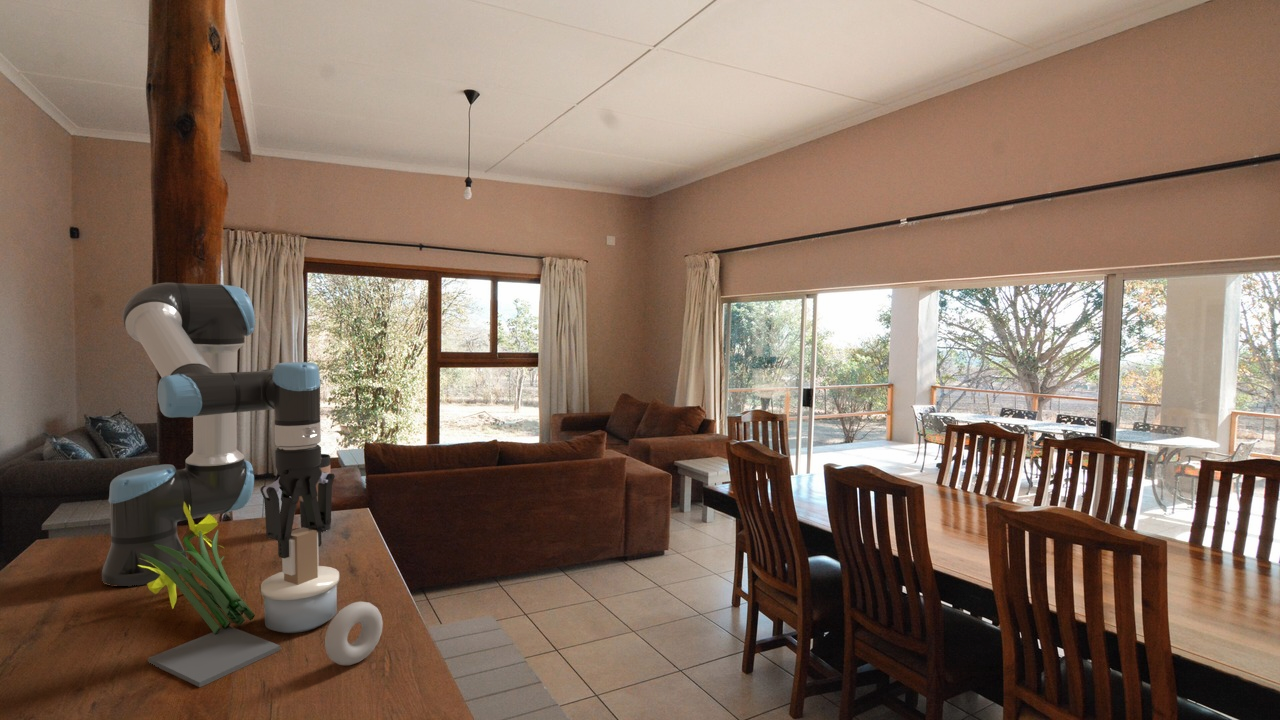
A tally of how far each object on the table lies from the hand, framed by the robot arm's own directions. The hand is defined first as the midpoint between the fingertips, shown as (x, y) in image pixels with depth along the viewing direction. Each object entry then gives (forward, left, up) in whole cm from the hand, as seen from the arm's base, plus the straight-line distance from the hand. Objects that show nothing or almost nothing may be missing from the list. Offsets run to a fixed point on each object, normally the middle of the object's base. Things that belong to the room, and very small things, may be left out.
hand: (300, 568), depth 121 cm
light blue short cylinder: (0, 0, -10) cm, 10 cm away
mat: (-1, -15, -10) cm, 18 cm away
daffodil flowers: (-21, -5, -10) cm, 24 cm away
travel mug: (-46, +36, -10) cm, 59 cm away
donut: (+21, -5, -10) cm, 24 cm away
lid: (0, 0, -3) cm, 3 cm away
